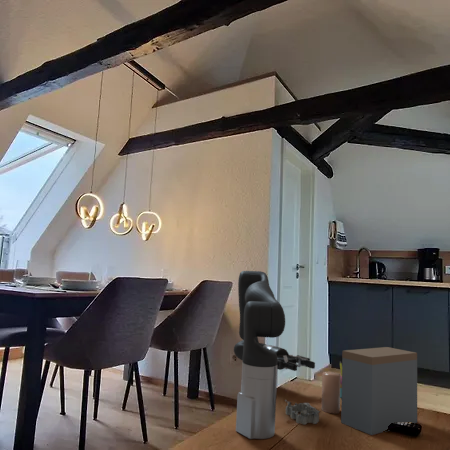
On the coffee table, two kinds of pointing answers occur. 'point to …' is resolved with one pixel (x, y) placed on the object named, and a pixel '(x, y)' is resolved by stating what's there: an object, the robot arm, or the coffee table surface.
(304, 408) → the egg carton
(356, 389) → the counter
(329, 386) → the pinkish-brown cylinder
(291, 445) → the coffee table surface
